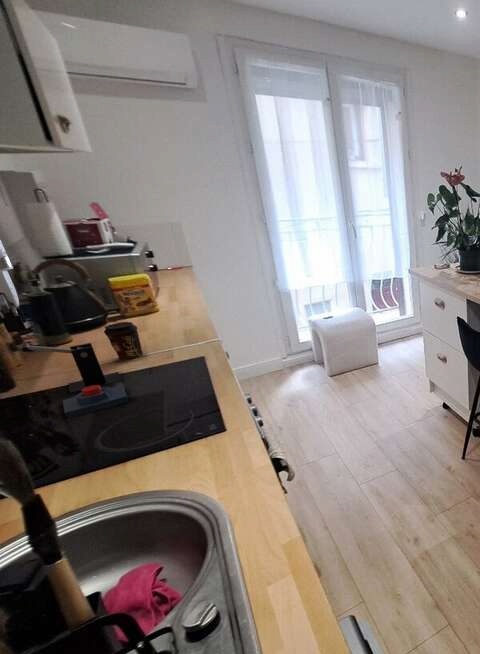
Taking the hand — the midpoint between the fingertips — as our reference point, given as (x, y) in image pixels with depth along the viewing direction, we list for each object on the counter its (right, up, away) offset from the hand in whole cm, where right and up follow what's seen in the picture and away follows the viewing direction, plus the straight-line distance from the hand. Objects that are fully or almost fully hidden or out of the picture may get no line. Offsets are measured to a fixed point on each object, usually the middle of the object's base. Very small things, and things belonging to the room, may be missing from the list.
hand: (17, 327), depth 111 cm
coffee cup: (-1, -11, +33) cm, 34 cm away
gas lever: (+3, -8, +7) cm, 10 cm away
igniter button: (+18, -18, +2) cm, 26 cm away
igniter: (+18, -22, +3) cm, 29 cm away
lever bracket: (+6, -18, +14) cm, 24 cm away
